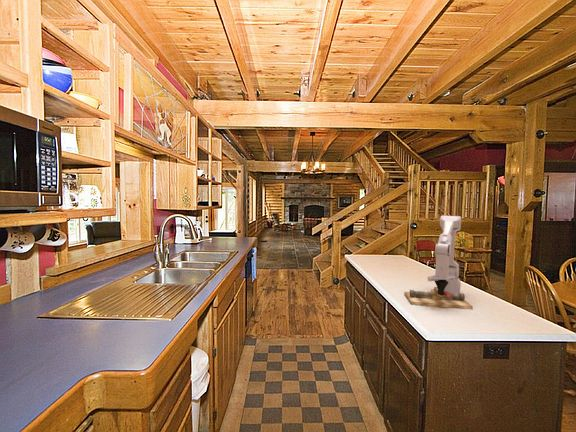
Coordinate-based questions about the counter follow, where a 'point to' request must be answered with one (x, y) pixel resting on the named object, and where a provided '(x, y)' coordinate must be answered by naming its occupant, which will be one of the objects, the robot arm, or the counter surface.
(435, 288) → the valve lever
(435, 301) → the valve board
